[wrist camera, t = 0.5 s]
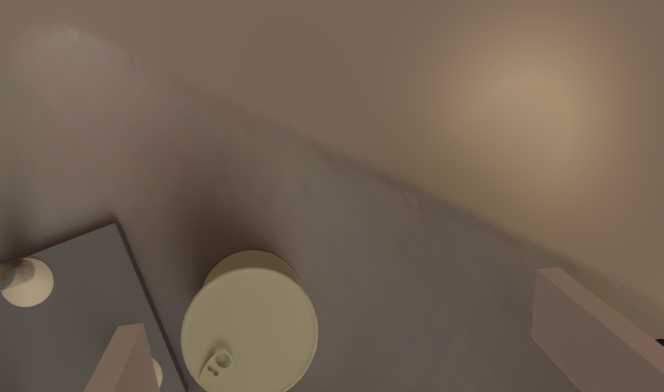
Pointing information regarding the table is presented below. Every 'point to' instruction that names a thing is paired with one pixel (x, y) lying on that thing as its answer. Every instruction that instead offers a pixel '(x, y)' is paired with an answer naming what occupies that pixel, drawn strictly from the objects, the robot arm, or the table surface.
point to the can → (249, 326)
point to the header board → (78, 316)
